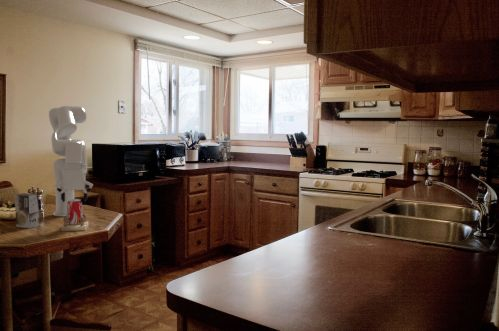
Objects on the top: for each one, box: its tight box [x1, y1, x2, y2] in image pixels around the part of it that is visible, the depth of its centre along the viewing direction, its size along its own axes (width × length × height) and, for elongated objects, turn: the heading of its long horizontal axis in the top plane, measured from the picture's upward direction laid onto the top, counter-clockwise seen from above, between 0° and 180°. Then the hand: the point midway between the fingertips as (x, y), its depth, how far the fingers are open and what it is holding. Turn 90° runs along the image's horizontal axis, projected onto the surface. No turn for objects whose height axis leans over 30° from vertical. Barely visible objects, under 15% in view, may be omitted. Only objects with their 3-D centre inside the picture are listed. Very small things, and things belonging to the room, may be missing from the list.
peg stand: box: [60, 213, 89, 232], centre depth 205 cm, size 11×11×6 cm
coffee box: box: [14, 192, 40, 229], centre depth 207 cm, size 9×6×16 cm
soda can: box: [67, 198, 84, 225], centre depth 205 cm, size 7×7×12 cm
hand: (74, 201), depth 205 cm, fingers open, 9 cm apart
